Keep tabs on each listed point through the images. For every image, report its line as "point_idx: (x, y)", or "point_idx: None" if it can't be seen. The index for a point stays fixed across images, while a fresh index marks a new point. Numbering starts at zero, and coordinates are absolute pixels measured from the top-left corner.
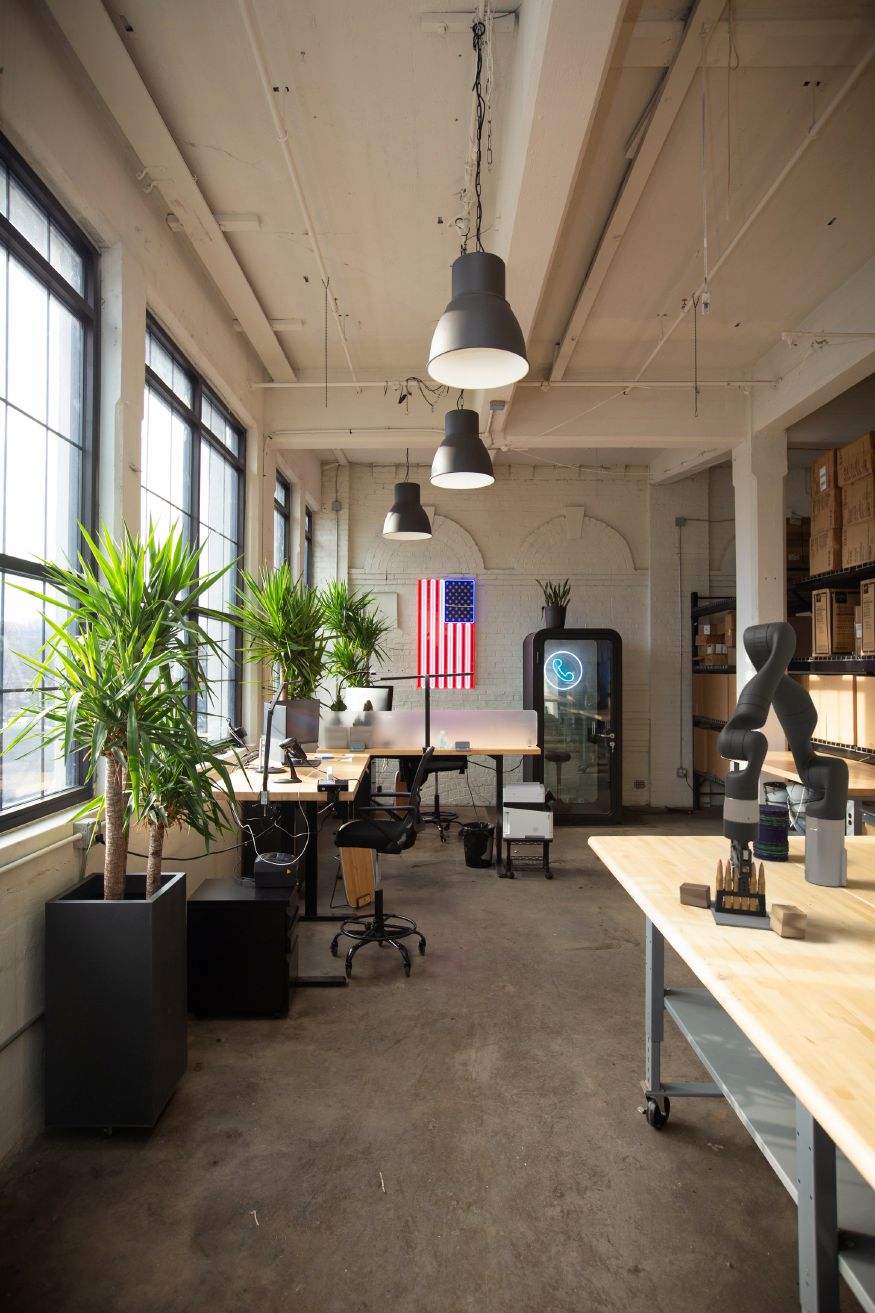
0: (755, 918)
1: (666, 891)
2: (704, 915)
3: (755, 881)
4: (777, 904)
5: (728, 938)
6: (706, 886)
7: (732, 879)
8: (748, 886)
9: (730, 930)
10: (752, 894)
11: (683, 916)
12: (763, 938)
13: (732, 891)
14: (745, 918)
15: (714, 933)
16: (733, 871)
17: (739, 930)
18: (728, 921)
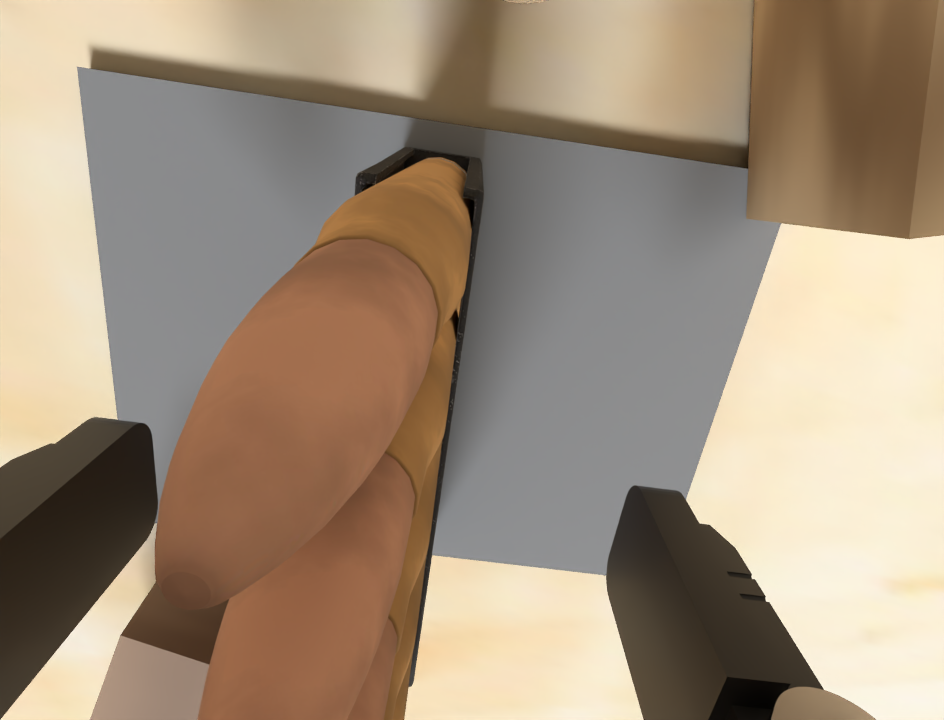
0: (528, 275)
1: (18, 700)
2: (471, 594)
3: (440, 402)
4: (936, 161)
5: (901, 560)
6: (162, 666)
7: (122, 564)
8: (721, 576)
9: (758, 513)
10: (460, 358)
11: (514, 700)
12: (934, 338)
13: (429, 567)
14: (543, 362)
15: (808, 612)
16: (37, 663)
17: (759, 457)
18: None
